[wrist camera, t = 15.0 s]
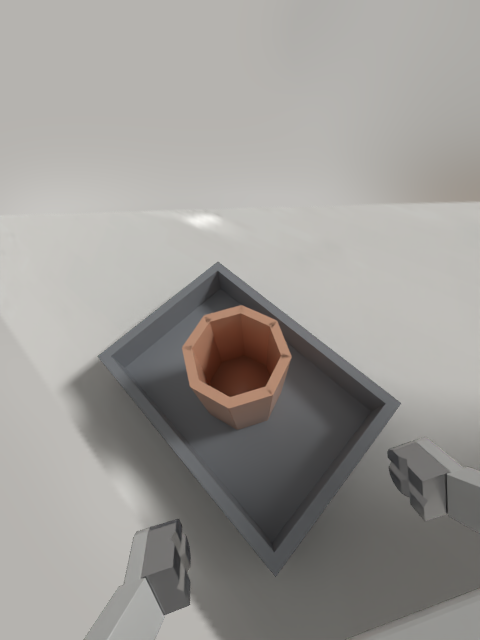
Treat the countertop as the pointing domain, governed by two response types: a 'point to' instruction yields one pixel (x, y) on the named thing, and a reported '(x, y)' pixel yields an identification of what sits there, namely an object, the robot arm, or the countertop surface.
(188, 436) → the tray
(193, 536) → the countertop surface
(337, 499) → the countertop surface
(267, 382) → the cup
